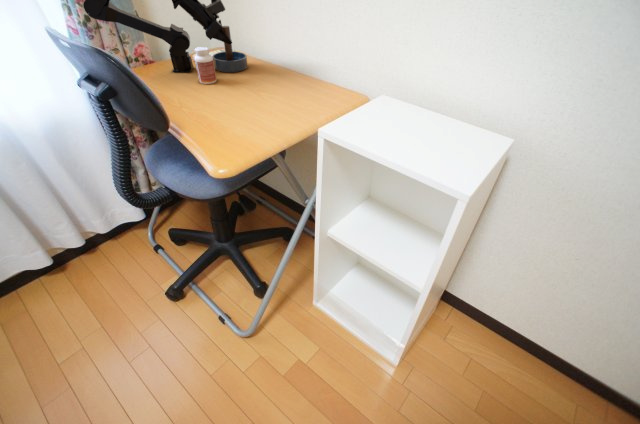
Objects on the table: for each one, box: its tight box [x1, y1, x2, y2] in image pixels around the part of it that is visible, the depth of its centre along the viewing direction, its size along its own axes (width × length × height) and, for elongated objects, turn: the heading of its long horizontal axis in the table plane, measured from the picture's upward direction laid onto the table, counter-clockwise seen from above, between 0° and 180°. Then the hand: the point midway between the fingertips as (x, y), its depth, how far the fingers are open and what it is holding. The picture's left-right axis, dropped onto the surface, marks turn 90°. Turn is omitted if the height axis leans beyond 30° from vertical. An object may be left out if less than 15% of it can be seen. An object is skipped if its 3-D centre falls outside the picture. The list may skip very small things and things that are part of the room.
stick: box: [222, 25, 234, 61], centre depth 120 cm, size 3×3×12 cm
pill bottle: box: [194, 46, 217, 85], centre depth 110 cm, size 6×6×11 cm
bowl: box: [211, 50, 249, 74], centre depth 124 cm, size 13×13×4 cm
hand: (231, 42), depth 120 cm, fingers closed on stick, 3 cm apart
